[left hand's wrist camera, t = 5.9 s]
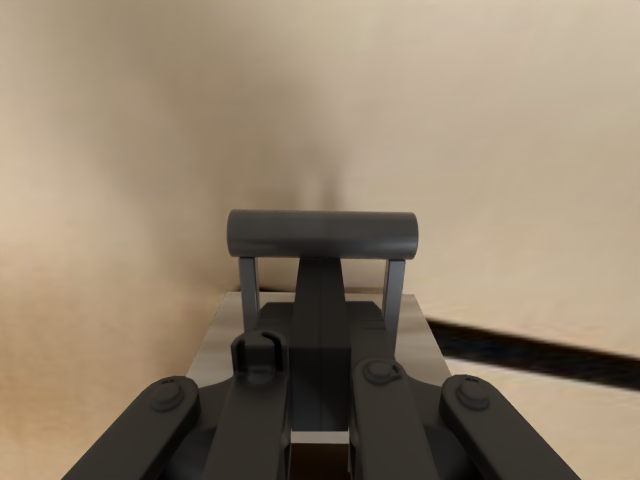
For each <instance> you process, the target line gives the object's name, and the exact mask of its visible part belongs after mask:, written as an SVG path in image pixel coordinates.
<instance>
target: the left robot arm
mask: <svg viewBox="0 0 640 480" xmlns="http://www.w3.org/2000/svg"><path fill="white" fill-rule="evenodd" d="M230 347H231V356H232V365H233V376H232V377H230V378H229V379H227V380H225V381H223V382H220V383H217V384H213V385H209V386H205V387H201V388H198V385H197V384H196V383H195V381H194V380H193V379H190V378H188V377H185V376H172V377H167V378H163V379H161V380H159V381H157V382H155V383H153V384H151V385H150V386H148V387H147V388H146V389H145V390H144V391H142V392H141V393H140V395H139V396H138V397H137V398H136V399H135V400H134V401H133V402H132V403H131V404H130V405H129V406H128V408H127V409H126V410H125V411H124V412H123V413H122V414H121V415H120V416H119V417H118V418H117V419H116V421H115V422H114V423H113V424H112V425H111V426H110V427H109V428H108V429H107V430H106V431H105V432H104V434H103V435H102V436H101V437H100V438H99V439H98V440H97V441H96V442H95V443H94V444H93V446H92V447H91V448H90V449H89V450H88V451H87V452H86V453H85V454H84V455H83V456H82V457H81V459H80V460H79V461H78V462H77V463H76V464H75V465H74V466H73V467H72V468H71V469H70V470H69V472H68V473H67V474H66V475H65V476H64V477H63V478H62V479H61V480H289V476H290V463H291V429H292V432H348V428H349V453H348V472H350V475H351V480H581V479H580V478H579V477H578V476H577V475H576V474H575V472H574V471H573V470H572V469H571V468H570V467H569V466H568V465H567V464H566V463H565V462H564V461H563V459H562V458H561V457H560V456H559V455H558V454H557V453H556V452H555V451H554V450H553V449H552V448H551V447H550V445H549V444H548V443H547V442H546V441H545V440H544V439H543V438H542V437H541V436H540V435H539V434H538V433H537V431H536V430H535V429H534V428H533V427H532V426H531V425H530V424H529V423H528V422H527V421H526V420H525V419H524V417H523V416H522V415H521V414H520V413H519V412H518V411H517V410H516V409H515V408H514V407H513V406H512V405H511V403H510V402H509V401H508V400H507V399H506V398H505V397H504V396H503V395H502V394H501V393H500V392H499V391H498V390H497V389H496V388H495V387H494V386H492V385H491V384H490V383H489V382H487V381H485V380H482V379H480V378H478V377H475V376H470V375H454V376H451V377H449V378H447V379H446V380H445V381H444V383H443V384H442V387H441V386H437V385H433V384H429V383H425V382H422V381H419V380H416V379H414V378H412V377H410V376H409V375H407V373H406V371H405V370H404V368H403V366H402V365H401V364H399V363H398V362H397V361H396V359H395V356H394V352H393V349H392V345H391V342H390V338H389V335H388V331H387V330H386V324H385V321H384V318H383V314H382V311H381V309H380V308H379V307H378V306H377V305H376V304H375V303H374V302H373V301H345V293H344V285H343V277H342V269H341V261H340V259H336V258H300V261H299V269H298V276H297V284H296V292H295V300H294V302H267V303H266V304H265V305H264V306H263V307H262V308H261V309H260V310H259V312H258V315H257V319H256V322H255V326H254V330H250V331H247V332H245V333H242V334H241V335H239V336H238V337H237V338H235V339H234V341H233V342H232V344H231V345H230Z"/></svg>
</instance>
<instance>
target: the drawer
mask: <svg viewBox="0 0 640 480" xmlns="http://www.w3.org/2000/svg"><path fill="white" fill-rule="evenodd" d="M227 245H228V250H229V253H230V255H231V256H232V257H239V259H238V260H239V273H240V286H241V292H226V294H225V296H224V298H223V300H222V302H221V304H220V306H219V309H218V311H217V313H216V315H215V317H214V319H213V321H212V323H211V325H210V327H209V329H208V331H207V333H206V335H205V337H204V340H203V342H202V344H201V346H200V348H199V350H198V352H197V354H196V356H195V358H194V360H193V362H192V364H191V366H190V368H189V371H188V373H187V375H186V377H188V378H190V379H193V380H194V381H195V383H196V384H197V385H198V388H201V387H205V386H209V385H213V384H217V383H220V382H223V381H225V380H227V379H229V378H230V377H232V376H233V365H232V356H231V347H230V345H231V344H232V342H233V341H234V339H235V338H237V337H238V336H239V335H241V334H242V333H245V332H247V331H250V330H254V326H255V322H256V319H257V315H258V312H259V310H260V309H261V308H262V307H263V306H264V305H265V304H266V303H267V302H294V300H295V293H288V292H259V278H258V259H257V257H274V258H336V259H386V267H385V278H384V288H383V294H350V293H345V301H373V302H374V303H375V304H376V305H377V306H378V307H379V308H380V309H381V311H382V314H383V318H384V321H385V324H386V330H387V331H388V335H389V338H390V342H391V345H392V349H393V352H394V356H395V359H396V361H397V362H398V363H399V364H401V365H402V366H403V368H404V370H405V371H406V373H407V375H409V376H410V377H412V378H414V379H416V380H419V381H422V382H425V383H429V384H433V385H437V386H441V387H442V384H443V383H444V381H445V380H446V379H447V378H449V377H451V376H452V375H451V373H450V371H449V369H448V367H447V364H446V362H445V360H444V358H443V356H442V354H441V351H440V349H439V347H438V345H437V343H436V341H435V339H434V336H433V334H432V332H431V330H430V328H429V326H428V324H427V321H426V319H425V317H424V315H423V313H422V311H421V308H420V306H419V304H418V302H417V300H416V298H415V296H414V295H413V294H402V288H403V280H404V271H405V263H406V261H405V260H411V259H413V258H414V257H415V255H416V251H417V247H418V223H417V219H416V216H415V214H414V213H412V212H356V211H296V210H236V209H234V210H232V211H231V212H230V214H229V218H228V223H227ZM348 453H349V428H348V432H292V429H291V463H290V476H289V480H351V475H350V472H348Z"/></svg>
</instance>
